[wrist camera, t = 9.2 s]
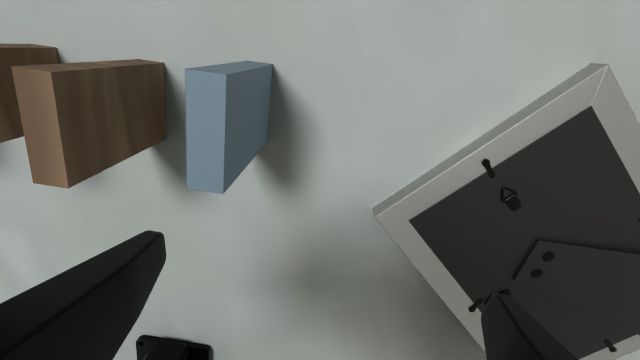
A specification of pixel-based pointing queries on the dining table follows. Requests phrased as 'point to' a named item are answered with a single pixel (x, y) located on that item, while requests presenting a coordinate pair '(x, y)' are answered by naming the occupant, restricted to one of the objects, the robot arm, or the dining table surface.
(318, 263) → the dining table surface
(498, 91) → the dining table surface
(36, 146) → the domino
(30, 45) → the domino
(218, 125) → the domino
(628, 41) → the dining table surface
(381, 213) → the picture frame
